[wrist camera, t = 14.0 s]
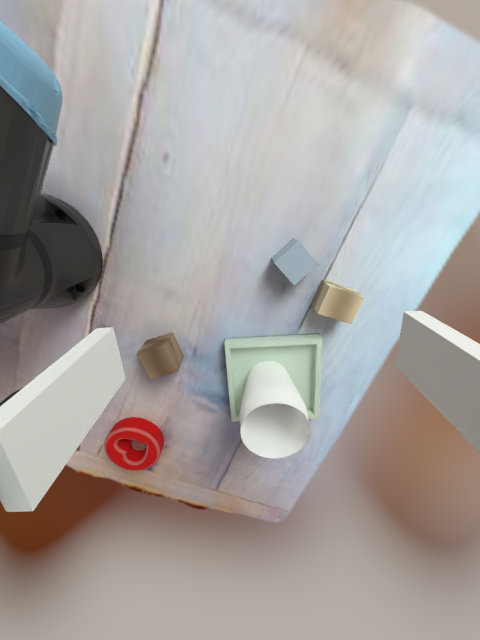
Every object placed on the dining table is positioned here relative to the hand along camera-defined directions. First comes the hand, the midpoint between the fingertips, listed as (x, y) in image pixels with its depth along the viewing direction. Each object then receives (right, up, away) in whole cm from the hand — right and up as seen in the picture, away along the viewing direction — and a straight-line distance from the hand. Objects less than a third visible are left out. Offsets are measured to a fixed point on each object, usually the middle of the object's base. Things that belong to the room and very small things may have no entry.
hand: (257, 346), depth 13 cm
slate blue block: (+6, +10, +27) cm, 29 cm away
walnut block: (-13, -3, +32) cm, 35 cm away
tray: (+5, -8, +34) cm, 35 cm away
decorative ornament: (-20, -20, +40) cm, 49 cm away
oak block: (+13, +5, +29) cm, 32 cm away
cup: (+4, -8, +34) cm, 35 cm away
